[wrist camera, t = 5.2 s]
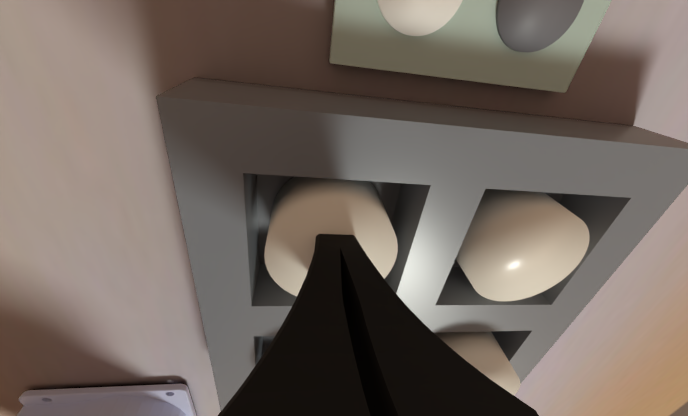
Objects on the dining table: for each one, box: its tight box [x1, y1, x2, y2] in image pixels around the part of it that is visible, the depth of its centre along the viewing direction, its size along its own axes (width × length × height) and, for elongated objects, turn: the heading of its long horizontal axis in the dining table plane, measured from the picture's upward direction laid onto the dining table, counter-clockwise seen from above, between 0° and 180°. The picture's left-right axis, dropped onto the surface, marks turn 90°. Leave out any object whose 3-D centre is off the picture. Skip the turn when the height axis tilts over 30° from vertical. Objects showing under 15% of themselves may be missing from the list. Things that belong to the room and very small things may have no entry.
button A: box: [456, 189, 589, 301], centre depth 13 cm, size 5×5×3 cm
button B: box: [264, 176, 398, 296], centre depth 12 cm, size 5×5×3 cm
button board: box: [156, 78, 688, 411], centre depth 15 cm, size 18×18×3 cm
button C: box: [434, 331, 520, 395], centre depth 16 cm, size 5×5×3 cm
